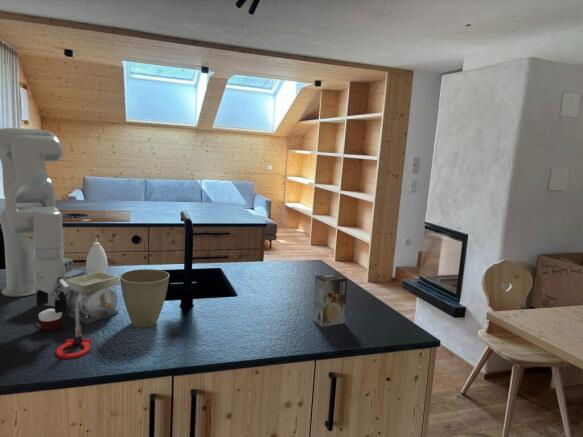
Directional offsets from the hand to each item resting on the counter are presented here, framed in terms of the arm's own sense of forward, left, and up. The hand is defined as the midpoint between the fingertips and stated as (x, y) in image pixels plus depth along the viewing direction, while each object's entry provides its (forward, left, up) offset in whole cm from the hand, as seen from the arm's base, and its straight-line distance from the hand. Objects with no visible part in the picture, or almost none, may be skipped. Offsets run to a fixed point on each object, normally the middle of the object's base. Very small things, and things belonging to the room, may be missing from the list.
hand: (51, 307), depth 132 cm
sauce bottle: (-32, +37, -7) cm, 50 cm away
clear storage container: (0, +14, -7) cm, 16 cm away
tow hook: (+18, -4, -7) cm, 19 cm away
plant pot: (+18, +20, -7) cm, 28 cm away
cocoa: (0, 0, -7) cm, 7 cm away
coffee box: (+64, +59, -7) cm, 87 cm away
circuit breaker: (-17, +14, -7) cm, 24 cm away
